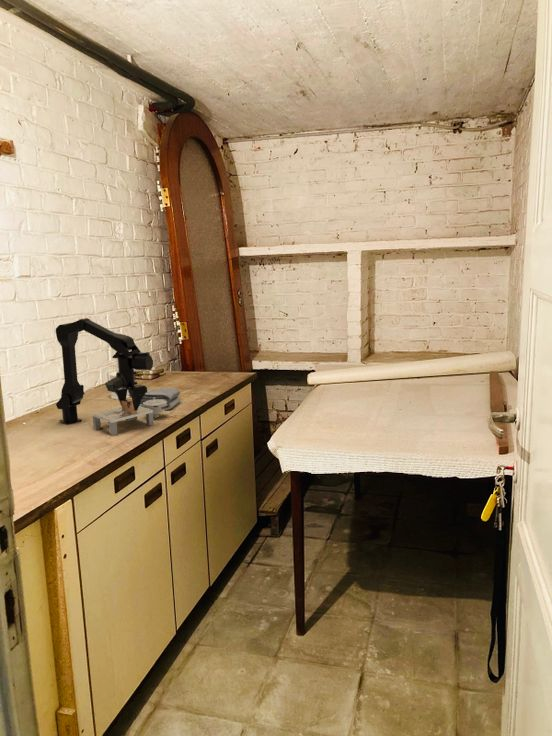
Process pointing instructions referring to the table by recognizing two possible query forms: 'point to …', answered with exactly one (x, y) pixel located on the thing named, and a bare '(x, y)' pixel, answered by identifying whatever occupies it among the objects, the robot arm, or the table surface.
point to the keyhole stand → (120, 417)
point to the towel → (162, 396)
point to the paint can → (113, 375)
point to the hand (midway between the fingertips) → (129, 408)
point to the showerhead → (155, 406)
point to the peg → (128, 407)
